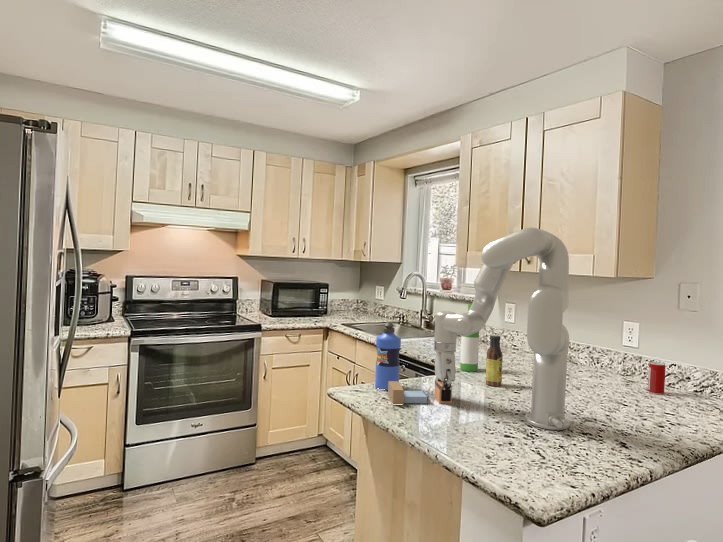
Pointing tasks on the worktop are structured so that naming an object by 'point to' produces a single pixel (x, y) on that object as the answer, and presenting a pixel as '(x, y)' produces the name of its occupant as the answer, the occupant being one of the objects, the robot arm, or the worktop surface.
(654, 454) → the worktop surface
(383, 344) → the water bottle
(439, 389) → the stub
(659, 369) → the soda can
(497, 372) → the sauce bottle
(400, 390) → the tan blue stepped block
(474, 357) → the wine bottle
